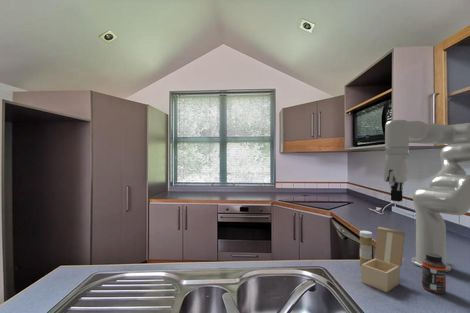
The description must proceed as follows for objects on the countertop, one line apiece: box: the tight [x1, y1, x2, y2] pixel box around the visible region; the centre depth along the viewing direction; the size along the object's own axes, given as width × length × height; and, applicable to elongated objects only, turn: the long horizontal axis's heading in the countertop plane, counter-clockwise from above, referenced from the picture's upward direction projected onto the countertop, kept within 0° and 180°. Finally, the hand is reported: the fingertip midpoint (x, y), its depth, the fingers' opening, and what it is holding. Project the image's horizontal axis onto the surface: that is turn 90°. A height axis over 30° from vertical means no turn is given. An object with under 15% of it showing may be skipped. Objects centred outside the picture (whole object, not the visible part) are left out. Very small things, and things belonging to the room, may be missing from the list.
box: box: [360, 258, 401, 293], centre depth 82 cm, size 10×8×6 cm
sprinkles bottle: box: [359, 230, 373, 266], centre depth 97 cm, size 5×5×14 cm
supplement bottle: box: [421, 253, 447, 295], centre depth 79 cm, size 6×6×11 cm
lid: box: [373, 226, 406, 267], centre depth 87 cm, size 12×8×1 cm
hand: (396, 200), depth 91 cm, fingers closed
